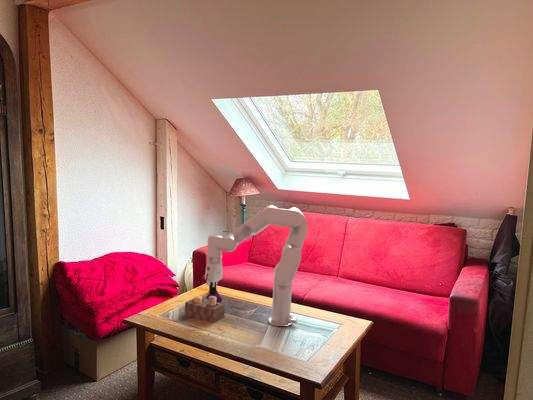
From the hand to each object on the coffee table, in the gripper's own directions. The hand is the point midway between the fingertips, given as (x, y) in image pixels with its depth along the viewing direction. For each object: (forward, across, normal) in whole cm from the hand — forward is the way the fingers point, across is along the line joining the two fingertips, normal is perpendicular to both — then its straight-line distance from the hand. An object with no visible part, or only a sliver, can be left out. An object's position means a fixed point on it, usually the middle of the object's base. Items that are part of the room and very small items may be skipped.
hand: (212, 293), depth 208 cm
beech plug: (+9, 0, 0) cm, 9 cm away
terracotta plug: (+11, 0, +9) cm, 14 cm away
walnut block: (+13, 0, +4) cm, 14 cm away
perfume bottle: (+13, +18, +10) cm, 25 cm away
